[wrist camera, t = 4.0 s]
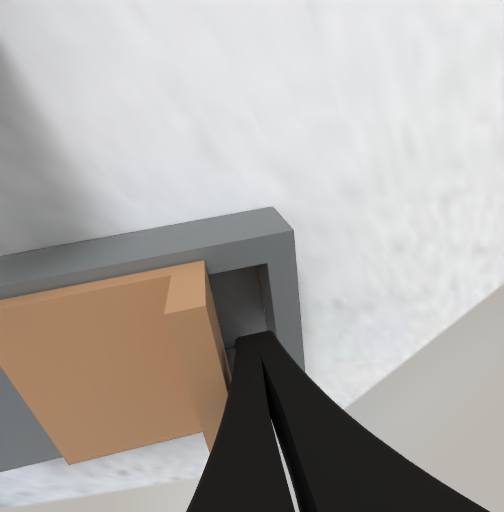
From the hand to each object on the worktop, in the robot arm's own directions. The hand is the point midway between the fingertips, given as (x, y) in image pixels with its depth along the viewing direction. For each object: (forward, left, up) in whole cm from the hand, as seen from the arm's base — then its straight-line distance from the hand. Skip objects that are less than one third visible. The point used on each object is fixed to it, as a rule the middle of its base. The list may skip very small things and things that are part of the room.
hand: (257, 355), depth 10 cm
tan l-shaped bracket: (-4, 0, -1) cm, 5 cm away
